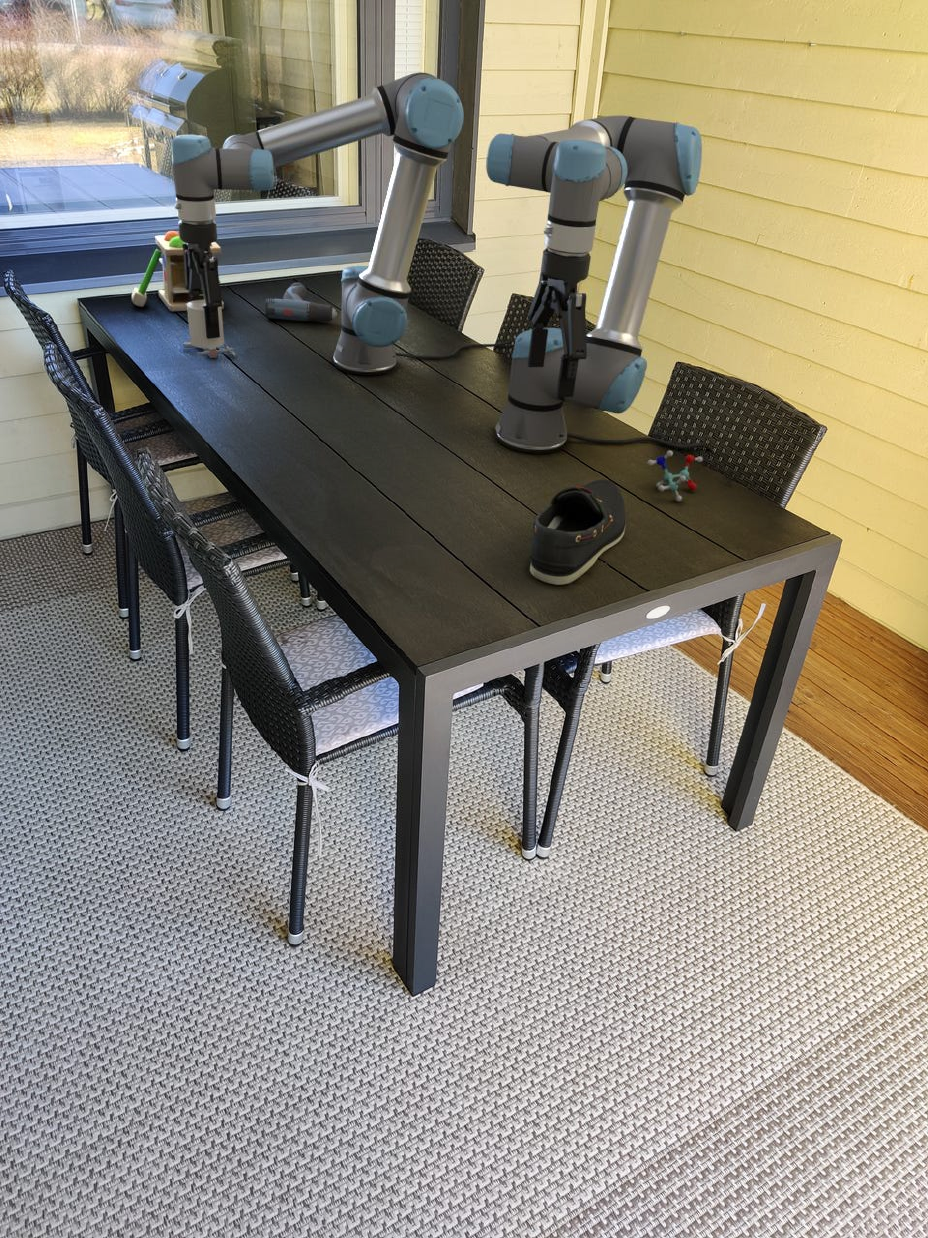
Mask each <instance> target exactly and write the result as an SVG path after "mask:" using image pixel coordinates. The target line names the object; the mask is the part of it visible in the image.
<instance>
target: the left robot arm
mask: <svg viewBox="0 0 928 1238" xmlns="http://www.w3.org/2000/svg"><path fill="white" fill-rule="evenodd" d="M464 115H465V114H464V106H463V104H462V101H461V98H460V96H459V95H458V93H457V92H456V90H455V89H454V87H453V86H452V85H450V84H449V83H448V82H447V81H444V80H442V79H441V78H439V77H437V76H435V75H433V74H431V73H427V72H413V73H411V74H407V75H405V76H402V77H400V78H398V79H394V80H392V81H390V82H387V83H384V84H382V85H379V86H375V87H373V90H372V92H371V93H370V94H369V95H368V94H367V95H365V96H363V97H359V98H356V99H353V100H350V101H347V102H344V103H341V104H338V105H334V106H331V107H328V108H324V109H322V110H318V111H315V112H312V113H309V114H306V115H303V116H300V117H297V118H293V119H290V120H287V121H285V122H281V123H278V124H275V125H271V126H268V127H265V128H262V129H259V130H257V131H253V132H250V133H246V134H233V135H231V136H229V137H228V138H226V139H225V141H224V143H223V145H222V148H217V147H212V144H211V140H210V138H208V137H207V136H205V135H199V134H198V135H197V134H179V135H176V136H174V137H173V138H172V139H171V141H170V142H171V143H170V145H171V147H170V148H171V166H172V174H173V181H174V192H175V202H176V203H174V209H175V210H176V213H177V214H176V215H177V219H179V221H178V223H177V225H178V233H179V237H180V240H181V241H183V242H185V243H183V244H182V247H183V253H184V268H185V288H186V290H189V295H190V296H191V297H190V298H191V301H195V300H204V299H205V304H206V306H202V307H203V309H204V313H205V324H206V336H207V339H211V338H219V337H220V330H219V317H218V307H222V301H223V300H222V292H221V285H220V284H221V282H220V283H219V280H220V276H219V259H218V257H217V256H214V258H213V255H212V252H211V250H210V244H211V243H212V242H217V240H218V230H217V222H216V221H215V220H216V218H217V212H216V211H217V209H216V198H215V194H214V193H215V190H218V191H222V190H224V191H225V190H226V191H254V192H259V191H270V190H272V189H273V188H274V183H275V171H274V170H275V169H274V168H277V167H280V166H283V165H287V164H290V163H294V162H296V161H298V160H302V159H305V158H308V157H312V156H315V155H318V154H321V153H325V152H329V151H330V150H334V149H336V148H340V147H343V146H347V145H349V144H352V143H356V142H359V141H362V140H365V139H368V138H372V137H375V136H378V135H382V134H383V135H385V136H386V137H392V136H393V138H392V141H391V142H392V144H393V146H394V148H395V150H396V156H395V160H394V161H395V162H394V165H393V169H392V172H391V177H390V181H389V184H388V189H387V191H386V197H385V200H384V205H383V207H382V213H381V217H380V220H379V224H378V229H377V232H376V236H375V241H374V245H373V249H372V253H371V256H370V260H369V264H368V265H351V266H347V267H345V268H344V269H343V270H342V273H341V279H340V283H341V319H340V321H341V324H340V325H341V326H340V329H341V330H340V336H339V338H338V341H337V344H336V346H335V347H336V348H335V350H334V352H333V361H332V362H333V363H332V364H333V366H334V367H335V368H337V369H338V370H339V371H342V372H344V373H347V374H352V375H356V376H380V375H381V376H382V375H386V374H389V373H391V372H393V371H395V369H396V368H397V361H398V359H397V357H402V358H408V359H419V360H443V359H448V358H452V357H454V356H456V354H457V353H458V352H460V351H462V350H465V349H468V348H469V349H470V348H496V347H501V346H506V345H511V344H510V341H511V340H507V341H502V342H498V343H497V342H496V343H473V344H470V343H469V344H463V345H460V346H459V347H457V348H456V349H455V350H454V351H452V352H451V353H449V354H443V355H418V354H408V353H402V352H395V347H394V344H395V343H397V342H399V340H400V339H402V337H403V336H404V334H405V332H406V330H407V326H408V315H407V312H406V310H407V306H408V302H409V298H410V295H411V291H412V288H411V286H410V284H409V282H408V275H409V272H410V268H411V265H412V261H413V258H414V253H415V250H416V246H417V243H418V239H419V236H420V231H421V228H422V224H423V221H424V217H425V213H426V209H427V206H428V201H429V198H430V195H431V191H432V188H433V184H434V181H435V180H434V179H435V176H436V173H437V169H438V167H439V165H441V164H443V163H444V162H446V161H447V160H448V156H449V152H450V149H451V146H452V143H453V142H454V141H455V140H456V139H457V138H458V136H459V135H460V133H461V131H462V128H463V125H464V119H465V118H464ZM203 269H204V270H203ZM200 294H204V296H203V295H201V296H200Z"/></svg>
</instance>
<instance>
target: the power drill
mask: <svg viewBox="0 0 928 1238" xmlns="http://www.w3.org/2000/svg"><path fill="white" fill-rule="evenodd" d="M307 295H308V290H307V287H306V285H304V284H303V283H301V282H293V283H292V284H291V285H290V286H289V287H288V288H287V289H286V291H285V292H284V294H283V297H282V298H266V299H265V302H264V313H265V314H264V316H265V318H267V319H274V320H275V319H276V320H283V321H294V322H295V321H297V322H332V321H333V320H334V319H336V318H337V317H338V312H337V311H336V308H334V307H333V306H332V305H331V304H324V303H317V302H313V301H307V300H305V299H306V297H307Z"/></svg>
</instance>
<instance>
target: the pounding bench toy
mask: <svg viewBox="0 0 928 1238" xmlns="http://www.w3.org/2000/svg"><path fill="white" fill-rule="evenodd" d="M154 240H155V242H154V243H156V246H158V247H159V249H158V248H156V249H155V250H154V252H153V255H152V257H151V259H150V261H149V264H148V266H147V269H146V271H145V273H144V276H143V277H142V280H141V283H140V285H139V287H136V286H135V287H134V289H133V291H132V293H131V301H132V303H133V304H134V305H135V306H137V307H141V308H143V307H144V306H145V304H146V303H147V299H148V295H147V291H148V287H149V285H150V282H151V280H152V277H153V275H154V273H155V270H156V268H157V265H158V263H160V265H162V279H163V289H159V290H158V297H159V299H161V301H162V302H163V303H164V305H165V306H166V307H167V308H168V310H169V311H170V312H187V304H188V303H189V302H191V298H190V297H191V296H190V295H189V290H186V288H185V268H184V253H183V247H182V244H183V243H185V242H183V241H181V240H180V237H179V231H175V230H169V231H167V232H166V233H165V235H155V236H154ZM210 250H211V252H212V255H213V258H214V257H215V255H221V254H222V248H221V246H220V245H219V244H218V243H217V241H215V242H212V243H211V244H210ZM203 270H204V269H203ZM219 283H220V284H221V280H220V279H219ZM201 295H203V296H204V294H200V296H201ZM204 300H205V299H204ZM221 308H222V310H224V309H225V304H224V301H223V300H222V307H221Z"/></svg>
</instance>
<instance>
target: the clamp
mask: <svg viewBox="0 0 928 1238" xmlns="http://www.w3.org/2000/svg"><path fill="white" fill-rule="evenodd" d="M182 346H183V348H184V349H190V348H191V349H192V348H194V347H195V346H193V345H191V343H190V341H183V342H182ZM201 350H203V351H201V352H196V356H208V357H209V358H211V359H212V358H213V359H214V358H217V357H218V355H217V354H231V355H233V358H234V359H238V357H239V355H238V353H235V351H234V348H233V347H229V345H228V344H226V345H224V349H217V347H216V348H201Z"/></svg>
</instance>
